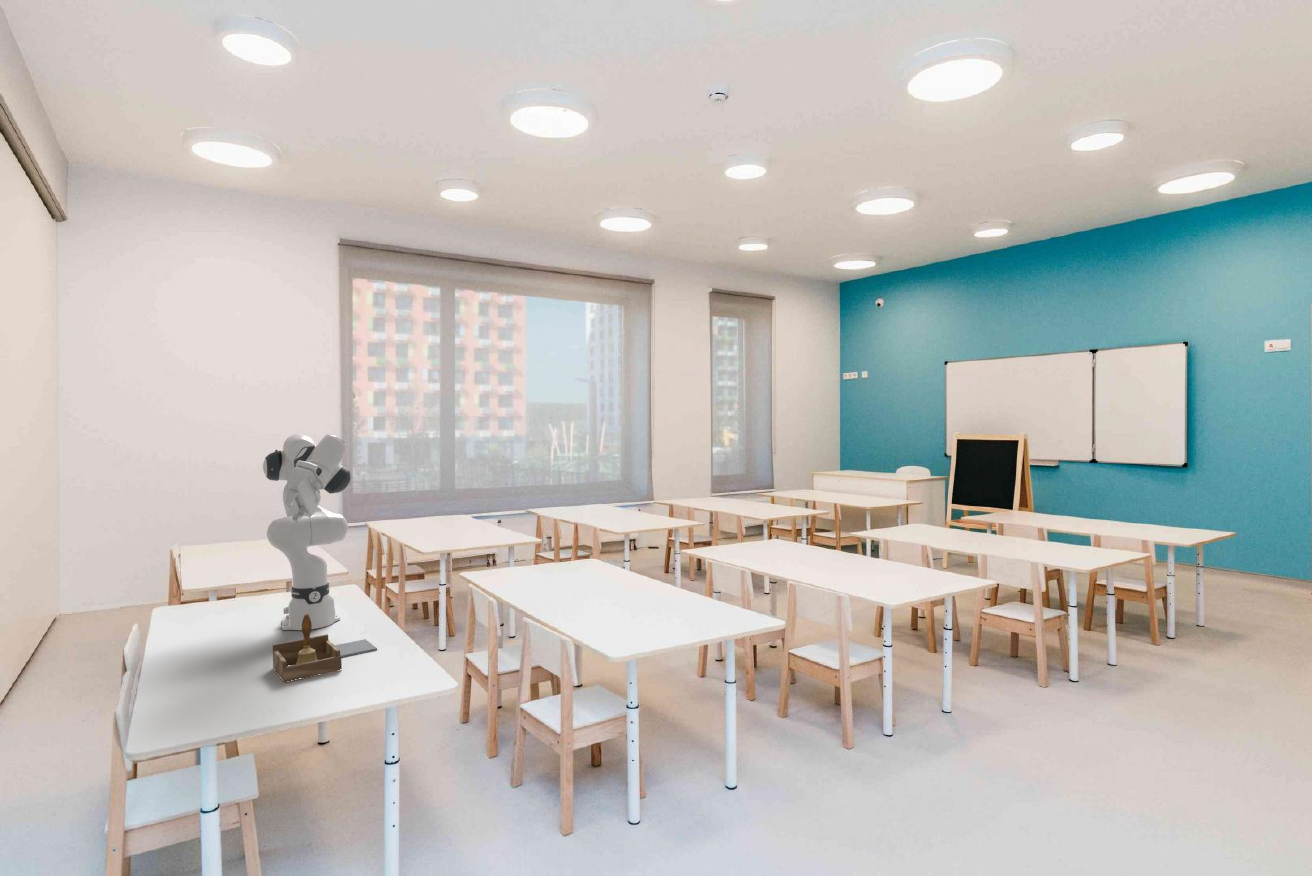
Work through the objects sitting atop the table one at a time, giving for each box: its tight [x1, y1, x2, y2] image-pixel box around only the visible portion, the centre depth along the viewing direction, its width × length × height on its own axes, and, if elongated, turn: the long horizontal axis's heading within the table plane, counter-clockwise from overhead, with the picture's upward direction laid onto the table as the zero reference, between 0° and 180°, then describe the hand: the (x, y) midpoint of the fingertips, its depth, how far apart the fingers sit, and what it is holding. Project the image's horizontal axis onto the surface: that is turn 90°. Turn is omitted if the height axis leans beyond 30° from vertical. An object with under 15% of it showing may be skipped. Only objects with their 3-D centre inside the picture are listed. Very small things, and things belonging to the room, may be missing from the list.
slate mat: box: [334, 638, 378, 658], centre depth 224 cm, size 12×12×1 cm
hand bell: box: [296, 614, 317, 665], centre depth 206 cm, size 8×8×16 cm
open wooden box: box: [272, 633, 342, 683], centre depth 207 cm, size 15×15×7 cm
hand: (291, 513), depth 219 cm, fingers open, 8 cm apart
